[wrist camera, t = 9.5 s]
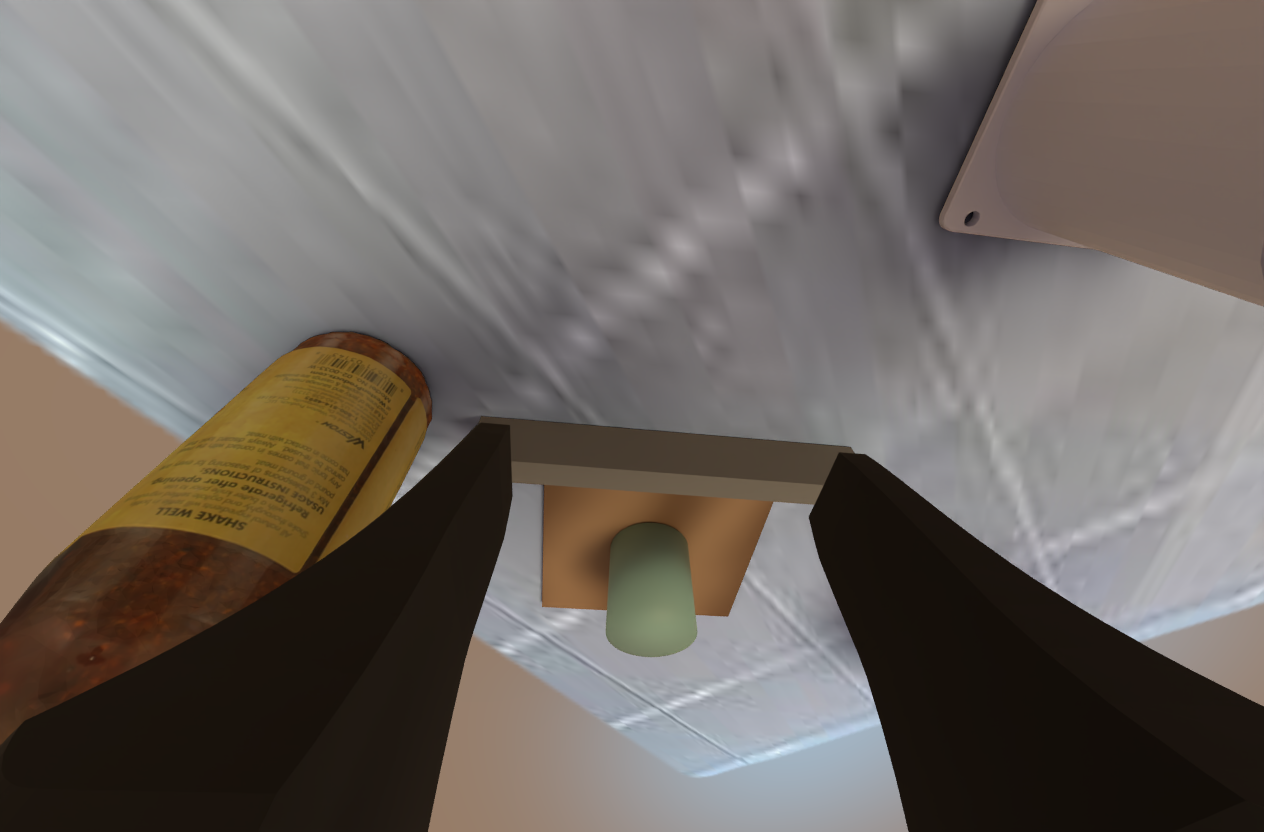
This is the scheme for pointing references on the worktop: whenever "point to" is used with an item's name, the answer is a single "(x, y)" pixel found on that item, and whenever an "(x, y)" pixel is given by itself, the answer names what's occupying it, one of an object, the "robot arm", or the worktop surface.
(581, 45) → the worktop surface
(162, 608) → the sauce bottle
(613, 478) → the taupe wall
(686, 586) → the sage green cylinder
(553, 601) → the walnut board
